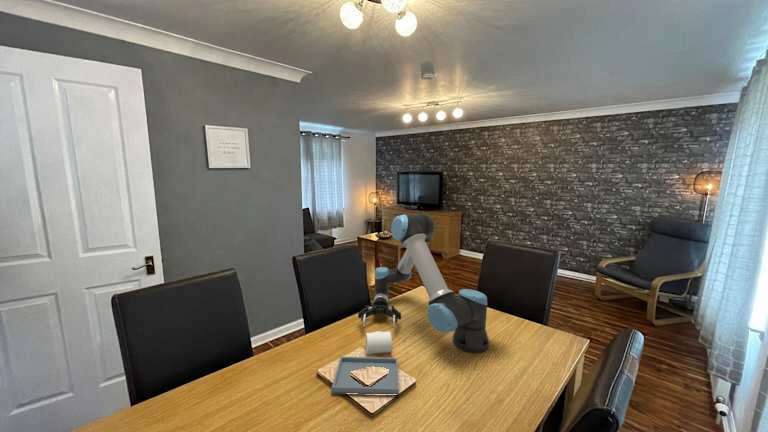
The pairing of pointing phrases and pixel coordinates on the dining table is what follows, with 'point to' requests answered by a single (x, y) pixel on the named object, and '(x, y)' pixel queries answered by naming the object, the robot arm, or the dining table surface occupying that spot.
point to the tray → (347, 364)
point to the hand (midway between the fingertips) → (378, 324)
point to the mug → (378, 342)
